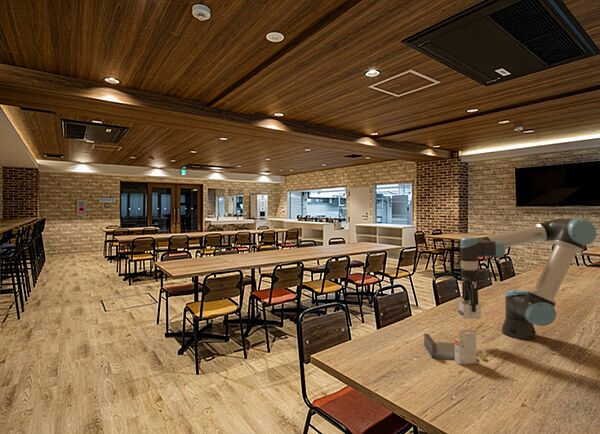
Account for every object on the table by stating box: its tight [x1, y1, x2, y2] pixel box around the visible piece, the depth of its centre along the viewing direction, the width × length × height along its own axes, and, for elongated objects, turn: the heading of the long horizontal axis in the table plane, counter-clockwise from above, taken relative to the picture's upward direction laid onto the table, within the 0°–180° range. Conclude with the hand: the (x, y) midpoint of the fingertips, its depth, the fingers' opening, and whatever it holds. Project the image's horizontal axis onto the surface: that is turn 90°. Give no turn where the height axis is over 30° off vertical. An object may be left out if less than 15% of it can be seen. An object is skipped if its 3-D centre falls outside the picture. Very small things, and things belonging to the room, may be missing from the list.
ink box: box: [454, 329, 477, 365], centre depth 143 cm, size 4×8×15 cm, turn 96°
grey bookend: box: [423, 333, 455, 360], centre depth 153 cm, size 18×13×6 cm
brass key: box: [476, 349, 488, 362], centre depth 149 cm, size 8×4×1 cm, turn 174°
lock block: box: [457, 300, 482, 320], centre depth 163 cm, size 9×6×7 cm
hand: (470, 315), depth 163 cm, fingers closed on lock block, 6 cm apart
